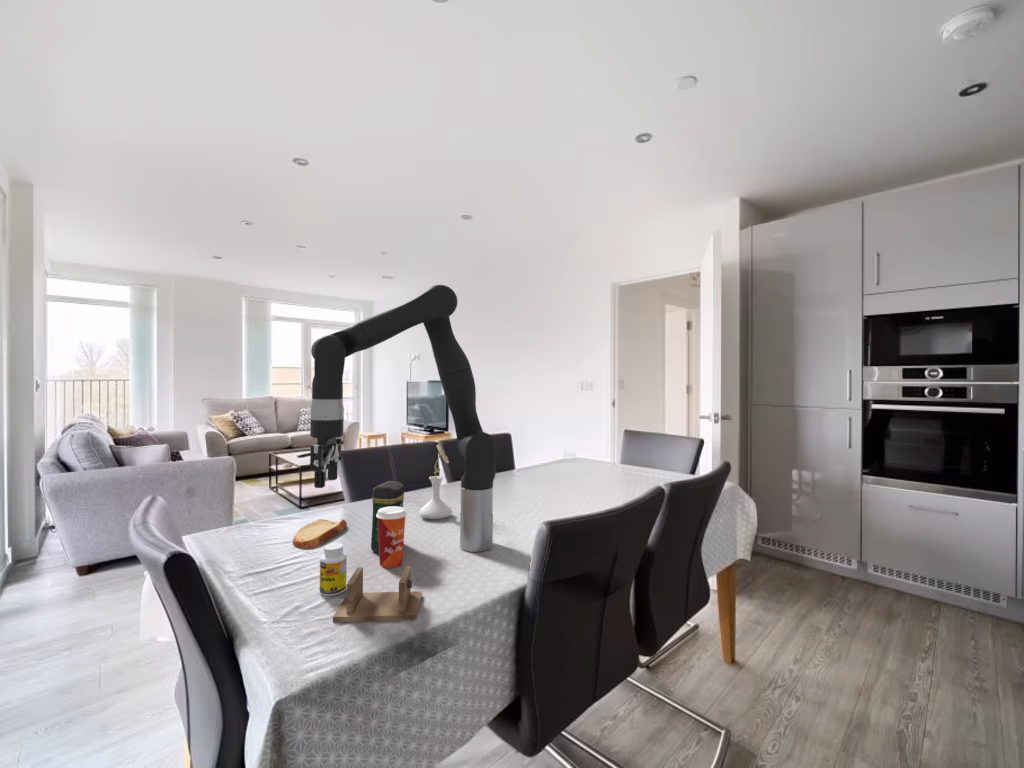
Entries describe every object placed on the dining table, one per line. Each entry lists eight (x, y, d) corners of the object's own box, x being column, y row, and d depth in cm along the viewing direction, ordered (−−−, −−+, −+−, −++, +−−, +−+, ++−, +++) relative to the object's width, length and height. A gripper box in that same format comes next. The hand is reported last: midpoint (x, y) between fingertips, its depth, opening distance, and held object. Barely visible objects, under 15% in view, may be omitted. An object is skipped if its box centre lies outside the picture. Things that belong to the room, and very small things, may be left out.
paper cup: (390, 572, 111) (390, 515, 111) (369, 565, 115) (369, 510, 115) (412, 561, 118) (413, 508, 118) (392, 555, 122) (392, 503, 122)
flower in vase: (449, 522, 150) (450, 448, 150) (415, 521, 150) (416, 447, 150) (455, 511, 163) (455, 442, 163) (423, 510, 164) (424, 442, 163)
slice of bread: (299, 552, 124) (299, 539, 124) (281, 535, 137) (281, 522, 137) (362, 538, 136) (362, 525, 136) (340, 523, 149) (340, 512, 149)
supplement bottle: (313, 595, 99) (314, 549, 99) (331, 584, 104) (331, 540, 104) (335, 599, 97) (335, 552, 97) (351, 588, 102) (352, 543, 102)
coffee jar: (394, 555, 122) (395, 487, 122) (367, 553, 123) (367, 485, 123) (407, 542, 132) (407, 479, 131) (381, 540, 132) (381, 478, 132)
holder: (421, 595, 99) (421, 564, 99) (415, 619, 89) (415, 584, 89) (347, 597, 98) (347, 565, 98) (332, 622, 88) (333, 586, 88)
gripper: (332, 420, 103) (331, 490, 103) (351, 415, 117) (351, 477, 117) (299, 419, 103) (298, 490, 103) (322, 415, 117) (321, 477, 117)
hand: (326, 483), depth 110 cm, fingers open, 8 cm apart
